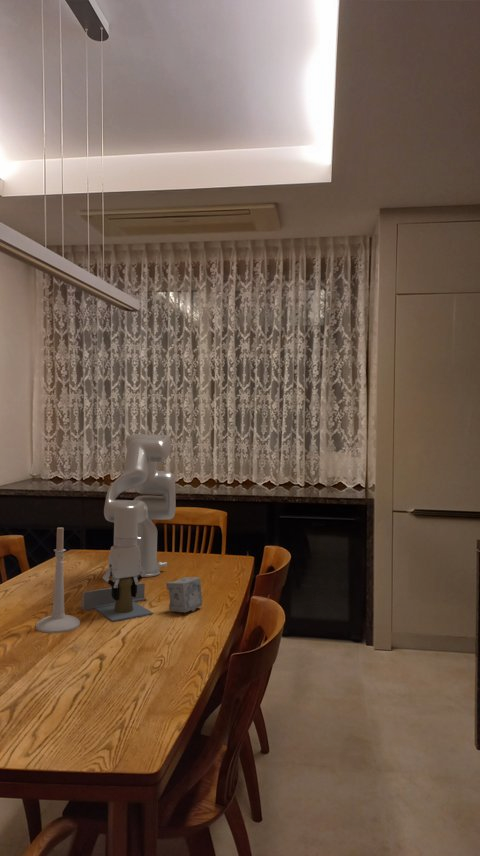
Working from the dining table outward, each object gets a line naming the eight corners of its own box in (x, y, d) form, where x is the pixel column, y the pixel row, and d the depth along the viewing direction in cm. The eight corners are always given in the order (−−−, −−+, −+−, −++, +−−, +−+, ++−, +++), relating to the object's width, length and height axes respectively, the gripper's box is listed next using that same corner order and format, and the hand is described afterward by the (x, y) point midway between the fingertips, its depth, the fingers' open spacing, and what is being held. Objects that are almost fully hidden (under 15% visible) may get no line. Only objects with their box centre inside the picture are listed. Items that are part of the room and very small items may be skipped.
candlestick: (88, 621, 184) (90, 524, 184) (63, 635, 172) (65, 531, 172) (53, 616, 188) (55, 521, 188) (26, 629, 176) (28, 528, 176)
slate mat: (133, 603, 204) (133, 601, 204) (153, 614, 192) (153, 612, 192) (94, 609, 195) (94, 608, 195) (112, 622, 184) (112, 620, 184)
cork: (135, 607, 197) (136, 574, 197) (129, 613, 191) (130, 579, 191) (117, 606, 198) (118, 573, 197) (111, 612, 192) (112, 578, 191)
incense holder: (183, 604, 205) (183, 573, 204) (203, 608, 200) (203, 577, 200) (165, 611, 196) (165, 579, 196) (185, 616, 192) (186, 584, 192)
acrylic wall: (140, 597, 210) (141, 581, 210) (146, 600, 207) (146, 584, 207) (80, 607, 197) (81, 590, 197) (85, 611, 194) (85, 593, 194)
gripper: (144, 537, 202) (142, 591, 202) (95, 542, 192) (94, 598, 192) (154, 541, 196) (153, 596, 196) (105, 547, 186) (104, 605, 186)
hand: (124, 597), depth 194 cm, fingers open, 5 cm apart
